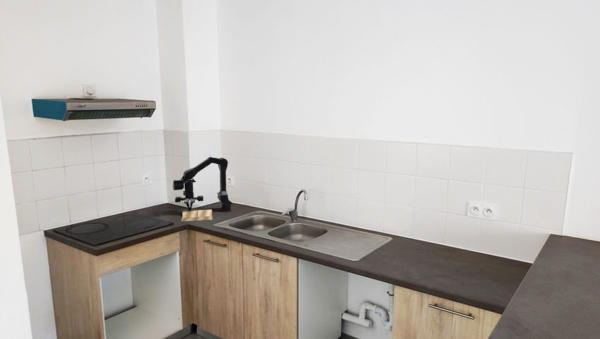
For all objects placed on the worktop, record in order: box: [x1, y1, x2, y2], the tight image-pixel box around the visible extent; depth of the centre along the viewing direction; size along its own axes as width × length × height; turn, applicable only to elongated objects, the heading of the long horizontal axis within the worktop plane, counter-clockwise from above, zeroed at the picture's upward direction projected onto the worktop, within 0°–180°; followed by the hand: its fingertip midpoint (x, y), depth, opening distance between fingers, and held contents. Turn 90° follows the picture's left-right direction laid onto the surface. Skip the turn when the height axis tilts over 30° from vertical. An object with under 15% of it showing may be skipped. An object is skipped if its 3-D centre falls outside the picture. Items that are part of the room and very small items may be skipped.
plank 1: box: [181, 209, 198, 219], centre depth 284 cm, size 10×7×1 cm
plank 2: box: [197, 209, 213, 217], centre depth 286 cm, size 10×7×1 cm
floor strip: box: [180, 215, 213, 222], centre depth 278 cm, size 20×8×1 cm, turn 102°
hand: (189, 211), depth 286 cm, fingers closed
